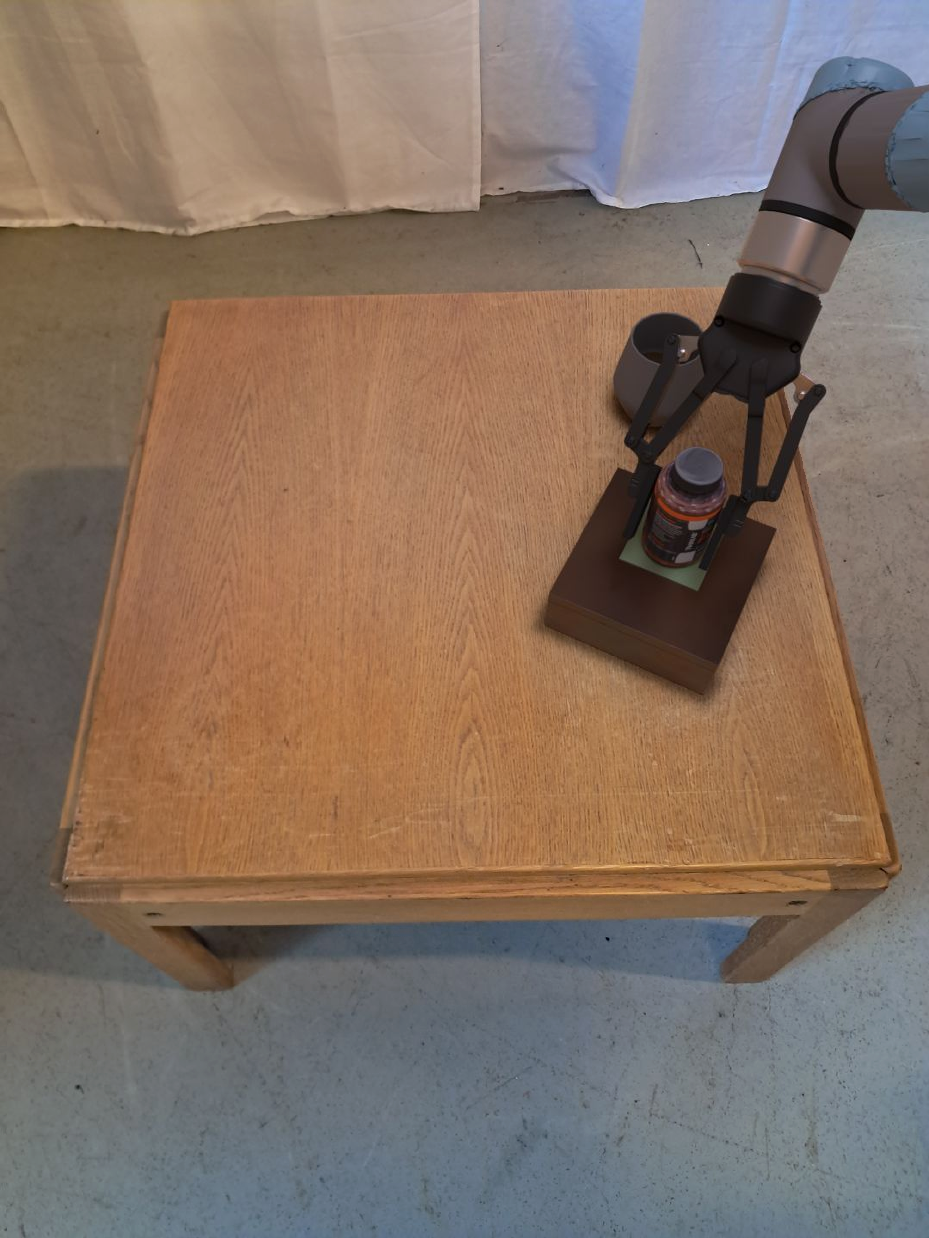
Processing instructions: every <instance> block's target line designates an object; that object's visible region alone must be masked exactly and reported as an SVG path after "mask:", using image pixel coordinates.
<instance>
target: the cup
mask: <svg viewBox="0 0 929 1238" xmlns="http://www.w3.org/2000/svg"><path fill="white" fill-rule="evenodd" d="M703 332H704V330H703V329H702V327H701V326H700V325H699V323H697V322H696V321H695V320H693V319H692V318H691V317H688V316H685V315H683V314H680V313H678V312H669V311H661V312H654V313H650V314H648V315H646V316H643V317H642V318H640V319H639V320H638V321H637V322H636V323H635V324H634V325H633V326H632V328H631V331H630V334H629V336H628V338H627V340H626V343H625V345H624V347H623V350H622V352H621V354H620V357H619V359H618V361H617V364H616V366H615V370H614V373H613V375H612V381H613V390H614V394H615V396H616V399H617V400H618V401H619V403H620V405H621V407H622V408H623V410H624V412H625V413H626V415H627V417H628V418H630V419H631V420H632V421H633V419H634V417H635V415H636V413H637V411H638V409H639V407H640V405H641V403H642V401H643V399H644V397H645V395H646V393H647V391H648V389H649V386H650V384H651V382H652V380H653V378H654V376H655V374H656V372H657V370H658V368H659V366H660V364H661V362H662V356H663V347H664V340H665V337H666V335H667V334H669V333H676V334H677V335H680V336H700V335H701V334H702V333H703ZM703 377H704V373H703V369H702V364H701V360H700V356H699V351H698V350H694V351H693V352H692V353H691V354H690V356H689V358H688V360H686V361H685V362H680V364H679V367H678V370H677V372H676V374H675V376H674V378H673V380H672V382H671V384H670V386H669V388H668V391H667V393H666V395H665V397H664V399H663V401H662V403H661V405H660V407H659V409H658V411H657V413H656V415H655V417H654V419H653V421H652V423H651V425H650V427H651V428H659V427H661V428H662V427H663V426H664V424H665V423H666V422H667V421H668V420H669V418H670V417H671V416H672V415H673V414H674V412H675V411H676V410H677V409H678V408H679V406H680V405H681V404H682V403H683V402H684V400H685V399H686V398H687V397H688V396H689V394H690V393H691V392H692V390H693V389H694V387H695V386H696V385H697V384H698V383H699V381H700V380H701V379H702V378H703ZM650 427H649V428H650Z"/></svg>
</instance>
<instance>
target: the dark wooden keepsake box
mask: <svg viewBox="0 0 929 1238" xmlns="http://www.w3.org/2000/svg"><path fill="white" fill-rule="evenodd" d="M633 474H634V472H632V471H630V470H627V469H624V468H622V467H620V466H618V467H617V468H616V470H615V472H614V473H613V475H612V477H611V479H610V480H609V482H608V484H607V486H606V488H605V490H604V492H603V494H602V495H601V497H600V499H599V500H598V502H597V504H596V506H595V508H594V510H593V512H592V514H591V515H590V517H589V519H588V521H587V523H586V525H585V526H584V528H583V530H582V532H581V534H580V535H579V538H577V541H576V542H575V544H574V546H573V548H572V550H571V551H570V554H569V556H568V557H567V559H566V561H565V563H564V565H563V567H562V568H561V570H560V571H559V574H558V576H557V577H556V579H555V581H554V583H553V584H552V586H551V589H550V590H549V592H548V596H547V604H546V611H545V619H544V626H545V627H548V628H550V629H553V630H555V631H557V632H559V633H562V634H564V635H566V636H568V637H571V638H573V639H576V640H577V641H580V642H582V643H584V644H587V645H589V646H591V647H594V648H596V649H598V650H601V651H603V652H604V653H607V654H609V655H611V656H614V657H615V658H619V659H621V660H623V661H625V662H628V663H630V664H632V665H634V666H637V667H639V668H642V669H643V670H646V671H648V672H650V673H652V674H655V675H657V676H660V677H662V678H664V679H665V680H668V681H671V682H673V683H675V684H678V685H679V686H682V687H685V688H687V689H689V690H691V691H693V692H695V693H697V694H700V695H705V693H706V691H707V689H708V687H709V685H710V683H711V682H712V680H713V678H714V676H715V674H716V672H717V670H718V668H719V667H720V665H721V662H722V659H723V657H724V655H725V652H726V650H727V648H728V645H729V643H730V641H731V638H732V636H733V633H734V632H735V629H736V627H737V624H738V621H739V620H740V617H741V615H742V612H743V610H744V607H745V606H746V603H747V601H748V598H749V596H750V594H751V592H752V589H753V587H754V585H755V582H756V580H757V577H758V575H759V573H760V570H761V568H762V565H763V563H764V561H765V558H766V556H767V554H768V551H769V549H770V547H771V544H772V542H773V540H774V537H775V535H776V532H777V530H778V528H776V527H774V526H771V525H769V524H766V523H763V522H761V521H758V520H756V519H754V518H751V517H749V516H746V518H745V520H744V522H743V525H742V527H741V529H740V531H739V533H738V534H737V535H736V536H735V537H734V538H733V537H731V536H728V535H726V534H723V536H722V538H721V540H720V542H719V545H718V547H717V549H716V551H715V554H714V556H713V558H712V560H711V563H710V565H709V567H708V569H707V571H705V570H702V569H700V568H698V566H699V564H700V562H701V559H702V557H703V555H704V553H705V550H706V549H705V550H704V552H703V554H702V555H701V557H700V558H699V559H698V560H696V561H695V562H694V563H692V564H690V565H686V566H681V567H671V566H667V565H664V564H661V563H659V562H657V561H656V560H654V559H653V558H652V557H650V556H649V554H648V553H647V552H646V551H645V548H644V546H643V543H642V530H643V526H644V523H645V519H646V516H647V512H648V509H649V505H650V502H651V498H652V495H653V493H652V495H651V498H650V500H649V503H648V505H647V508H646V510H645V512H644V515H643V517H642V520H641V522H640V525H639V527H638V529H637V532H636V534H635V536H634V537H633V538H632V539H630V540H629V539H626V538H624V537H622V535H623V532H624V530H625V527H626V525H627V523H628V520H629V518H630V515H631V513H632V510H633V508H634V505H635V503H636V500H637V499H635V498H632V497H630V496H627V489H628V487H629V484H630V482H631V479H632V477H633ZM653 491H654V490H653ZM723 509H724V507H722V510H721V512H720V515H719V517H718V519H717V522H716V524H715V527H714V529H713V532H714V530H715V528H716V525H717V523H718V521H719V519H720V516H721V514H722V512H723ZM713 532H712V534H713ZM712 534H711V537H712ZM711 537H710V539H711ZM710 539H709V541H710ZM708 544H709V542H708ZM707 546H708V545H707ZM706 548H707V547H706Z"/></svg>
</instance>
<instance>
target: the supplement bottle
mask: <svg viewBox="0 0 929 1238" xmlns="http://www.w3.org/2000/svg"><path fill="white" fill-rule="evenodd" d="M724 468H725V467H724V462H723V461H722V459H721V457H720V456H719V454H717V453H716V452H715V451H713V450H711V449H708V448H707V447H703V446H690V447H687V448H685V449H683V450H681V451H680V452H679V453H678V454H677V455H676V456H675V459H674V460H673V461H670V462H669V463H667V464H666V465H665V466H664V467H663V469H662V471H661V472H660V474H659V476H658V478H657V481H656V485H655V488H654V491H653V495H652V498H651V502H650V505H649V509H648V512H647V516H646V519H645V523H644V526H643V530H642V543H643V546H644V548H645V551H646V552H647V553H648V554H649V556H650V557H652V558H653V559H654V560H656V561H657V562H659V563H661V564H664V565H667V566H671V567H681V566H686V565H690V564H692V563H694V562H695V561H696V560H698V559H699V558H700V557H701V555H702V554H703V552H704V550H705V549H706V547H707V545H708V542H709V539H710V537H711V534H712V532H713V529H714V527H715V524H716V522H717V519H718V517H719V515H720V512H721V510H722V508H724V506H725V505H724V504H725V503H726V502H725V501H726V499H727V496H728V483H727V481H726V478H725V476H724V475H723V474H724Z"/></svg>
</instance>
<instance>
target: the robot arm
mask: <svg viewBox="0 0 929 1238" xmlns="http://www.w3.org/2000/svg"><path fill="white" fill-rule="evenodd" d="M866 210H868V211H869V210H871V211H875V210H876V211H877V210H878V211H893V212H894V211H897V212H916V213H923V214H926V213H929V84H924V85H917V86H916V85H915V83H914V81H913V80H912V79H911V77H910V76H909V75H908V74H907V73H905V72H904V71H903V70H901V69H900V68H898V67H895V66H894V65H892V64H890V63H887V62H884V61H881V60H878V59H875V58H870V57H864V56H863V57H862V56H861V57H859V58H856V57H853V56H849V55H844V56H837V57H833V58H830V59H828V60H827V61H826V62H824V63H822V65H820V67H818V69H817V70H816V72H815V73H814V75H813V77H812V80H811V81H810V84H809V87H808V89H807V91H806V93H805V95H804V97H803V99H802V101H801V103H800V104H799V107H798V108H796V110H795V113H794V115H793V117H792V122H791V125H790V128H789V131H788V133H787V135H786V137H785V140H784V144H782V148H781V151H780V153H779V156H778V158H777V161H776V163H775V166H774V169H773V171H772V174H771V176H770V179H769V181H768V184H767V186H766V189H765V191H764V194H763V196H762V199H761V203H760V206H759V208H758V210H757V212H756V213H755V215H754V218H753V220H752V223H751V225H750V227H749V230H748V232H747V235H746V238H745V240H744V243H743V245H742V247H741V250H740V253H739V255H738V257H737V261H736V262H737V265H738V266H739V268H740V269H741V270H740V272H738V271H737V272H735V273H734V274H733V275H730V277H729V280H728V282H727V285H726V286H725V289H724V292H723V294H722V297H721V299H720V301H719V304H718V306H717V309H716V312H715V314H714V316H713V318H712V321H711V323H710V324H709V326H708V327H707V328H706V329H705V330H703V333H702V334H701V335H700V336H680V335H677V334H676V333H669V334H667V335H666V337H665V340H664V347H663V356H662V362H661V364H660V366H659V368H658V370H657V372H656V374H655V376H654V378H653V380H652V382H651V384H650V386H649V389H648V391H647V393H646V395H645V397H644V399H643V401H642V403H641V405H640V407H639V409H638V411H637V413H636V415H635V417H634V419H633V420H632V422H631V424H630V426H629V428H628V430H627V432H626V434H625V435H624V438H623V444H624V446H625V447H626V448H628V449H630V450H631V451H632V452H633V453H634V454H635V455H636V456H637V464H636V467H635V469H634V471H633V473H634V474H633V477H632V479H631V482H630V484H629V487H628V489H627V496H630V497H632V498H635V499H637V500H636V503H635V505H634V508H633V510H632V513H631V515H630V518H629V520H628V523H627V525H626V527H625V530H624V532H623V535H622V537H624V538H626V539H629V540H630V539H632V538H633V537H634V536H635V534H636V532H637V529H638V527H639V525H640V522H641V520H642V517H643V515H644V512H645V510H646V508H647V505H648V503H649V500H650V498H651V495H652V493H653V490H654V488H655V485H656V481H657V478H658V476H659V474H660V472H661V471H662V469H663V468H664V467H663V466H661V465H659V464H656V462H657V460H659V457H660V456H661V455H662V454H663V453H664V452H665V450H666V449H667V448H668V447H669V445H670V444H671V443H672V442H673V441H674V440H675V438H676V437H677V436H678V435H679V433H680V432H681V431H682V430H683V429H684V428H685V426H686V425H687V424H688V423H689V421H690V420H691V419H692V418H693V417H694V416H695V414H696V413H697V412H698V411H699V409H700V408H701V407H702V406H703V405H704V404H705V403H706V402H707V400H709V399H710V397H712V395H714V393H716V394H717V395H722V396H730V397H731V396H732V397H733V398H734V399H736V400H737V401H739V402H741V403H743V404H746V405H748V406H747V416H746V417H747V418H746V419H747V420H746V429H745V440H744V450H743V461H742V471H741V472H742V473H741V483H740V493H739V495H737V494H734V493H730V495H729V496H728V498H727V500H726V502H725V505H724V506H723V508H724V509H723V512H722V514H721V516H720V519H719V521H718V523H717V525H716V528H715V530H714V532H713V534H712V537H711V539H710V541H709V544H708V546H707V548H706V550H705V553H704V555H703V557H702V559H701V562H700V564H699V566H698V568H700V569H702V570H705V571H707V569H708V567H709V565H710V563H711V560H712V558H713V556H714V554H715V551H716V549H717V547H718V545H719V542H720V540H721V538H722V536H723V534H726V535H728V536H731V537H733V538H734V537H735V536H736V535H737V534H738V533H739V531H740V529H741V527H742V525H743V522H744V520H745V518H746V517H748V516H747V515H748V513H749V511H750V510H751V507H752V506H753V505H754V504H756V503H759V502H764V503H765V502H769V503H775V502H777V501H778V500H779V499H780V497H781V494H782V492H783V490H784V486H785V483H786V481H787V478H788V476H789V472H790V470H791V467H792V464H793V462H794V460H795V457H796V453H797V451H798V449H799V445H800V443H801V439H802V437H803V434H804V431H805V429H806V426H807V423H808V421H809V417H810V415H811V413H812V412H813V411H814V410H815V409H816V407H817V406H818V405H819V404H820V403H821V401H822V400H823V399H824V397H826V394H827V388H826V386H825V385H824V384H822V383H817V382H815V380H813V379H811V378H810V377H809V376H807V375H806V374H804V373H803V372H802V364H801V358H802V354H803V352H804V349H805V347H806V345H807V343H808V340H809V338H810V335H811V334H812V331H813V330H814V327H815V325H816V323H817V320H818V318H819V315H820V313H821V311H822V308H823V305H822V301H821V299H820V296H819V295H825V294H827V293H829V292H830V290H831V287H832V285H833V284H834V281H835V280H836V276H837V275H838V272H839V271H840V268H841V265H842V263H843V261H844V259H845V257H846V255H847V252H848V250H849V248H850V245H851V244H852V243H851V242H852V241H853V239H854V237H855V234H856V232H857V229H858V226H859V224H860V222H861V220H862V218H863V216H864V214H865V212H866ZM694 350H698V351H699V356H700V360H701V364H702V369H703V373H704V377H703V378H702V379H701V380H700V381H699V383H698V384H697V385H696V386H695V387H694V389H693V390H692V392H691V393H690V394H689V396H688V397H687V398H686V399H685V400H684V402H683V403H682V404H681V405H680V406H679V408H678V409H677V410H676V411H675V412H674V414H673V415H672V416H671V417H670V418H669V420H668V421H667V422H666V423H665V424H664V426H661V428H660V429H659V430H658V431H657V433H656V434H655V435H654V436H653V438H652V439H651V440H650V441H649V442H648V441H647V440H646V439H645V437H646V435H647V433H648V431H649V429H650V425H651V423H652V421H653V419H654V417H655V415H656V413H657V411H658V409H659V407H660V405H661V403H662V401H663V399H664V397H665V395H666V393H667V391H668V388H669V386H670V384H671V382H672V380H673V378H674V376H675V374H676V372H677V370H678V367H679V364H680V362H685V361H686V360H688V358H689V356H690V354H691V353H692V352H693V351H694ZM790 384H793V385H794V387H795V390H794V392H793V396H792V399H793V402H794V403H795V404H796V408H795V409H794V412H793V414H792V416H791V419H790V421H789V425H788V428H787V430H786V433H785V436H784V439H783V442H782V444H781V447H780V449H779V451H778V455H777V458H776V461H775V464H774V467H773V470H772V472H771V475H770V478H769V480H768V483H767V485H765V484H764V485H761V484H758V482H759V474H760V472H759V471H760V463H761V452H762V440H763V433H764V432H763V431H764V422H765V421H764V420H765V413H766V401H767V399H768V398H770V397H772V396H773V395H774V394H776V393H778V392H779V391H781V390H782V389H784V388H785V387H787V386H788V385H790Z"/></svg>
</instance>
